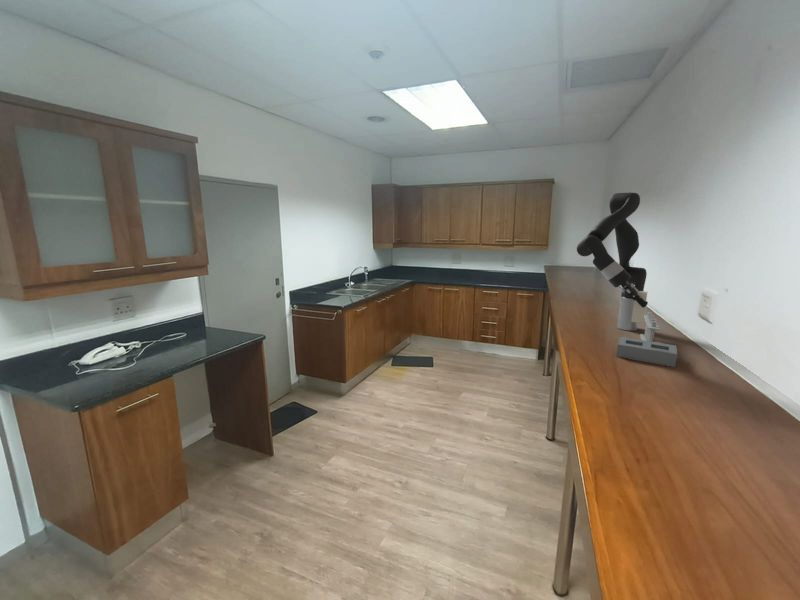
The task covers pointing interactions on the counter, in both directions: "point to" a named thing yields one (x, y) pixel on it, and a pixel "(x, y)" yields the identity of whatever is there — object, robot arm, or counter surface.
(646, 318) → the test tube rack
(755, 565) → the counter surface
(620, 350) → the grey two-slot holder
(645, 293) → the cream rectangular block
